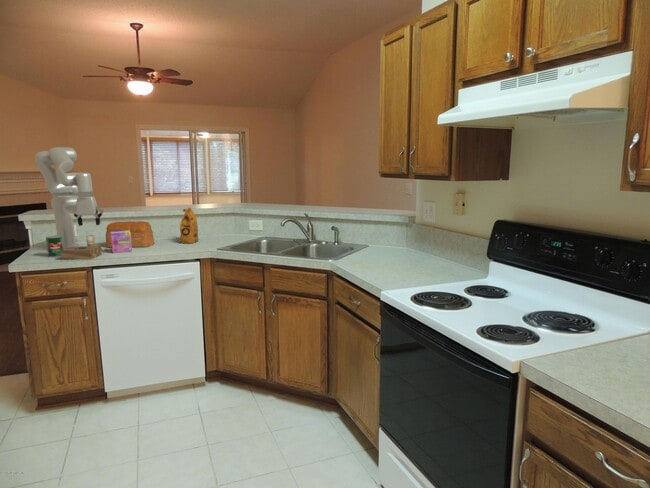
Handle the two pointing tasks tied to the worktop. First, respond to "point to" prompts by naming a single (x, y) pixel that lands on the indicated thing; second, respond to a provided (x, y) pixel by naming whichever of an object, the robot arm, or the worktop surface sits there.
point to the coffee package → (189, 227)
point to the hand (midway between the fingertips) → (89, 225)
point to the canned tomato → (54, 245)
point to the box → (121, 241)
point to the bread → (132, 233)
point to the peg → (90, 240)
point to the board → (80, 252)
